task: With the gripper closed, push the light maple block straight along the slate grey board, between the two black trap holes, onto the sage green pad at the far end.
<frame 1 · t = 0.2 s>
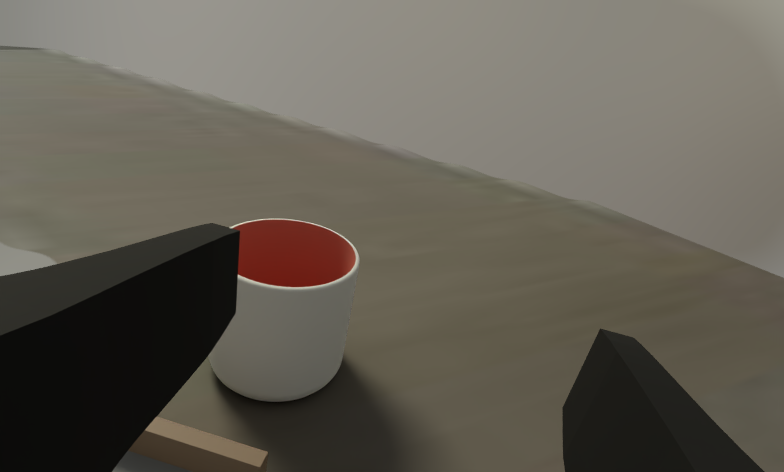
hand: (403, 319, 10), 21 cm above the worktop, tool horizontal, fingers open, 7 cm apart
cup: (276, 363, 39), on the worktop
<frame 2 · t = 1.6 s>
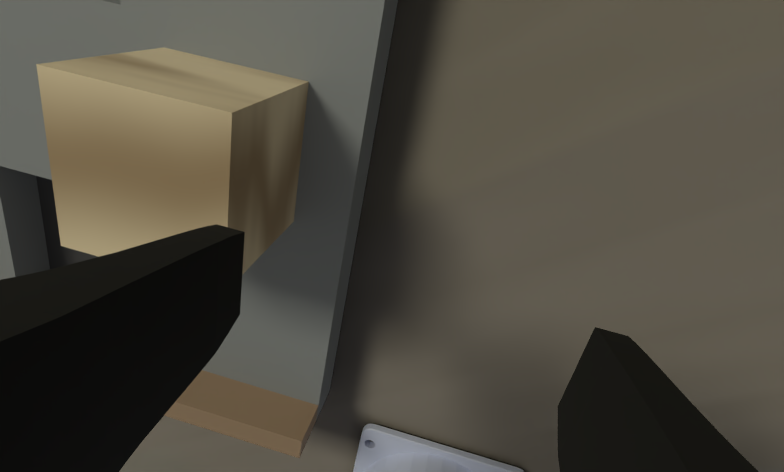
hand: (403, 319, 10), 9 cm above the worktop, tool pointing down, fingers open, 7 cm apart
block: (232, 138, 17), point 2 cm above the worktop, touching trap board
trap board: (80, 81, 20), on the worktop
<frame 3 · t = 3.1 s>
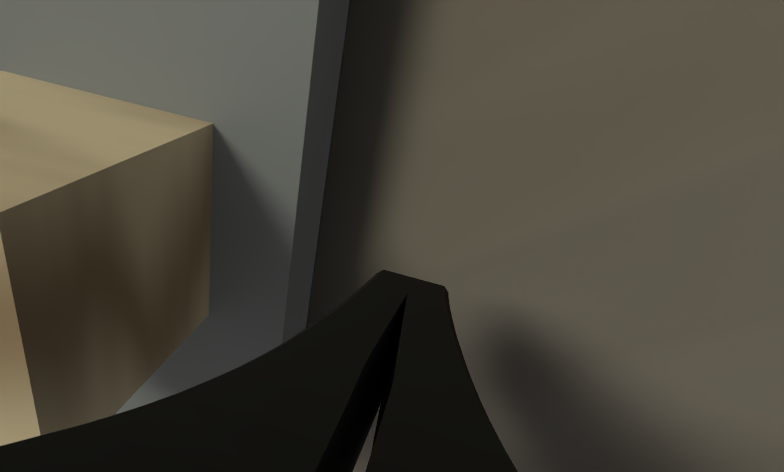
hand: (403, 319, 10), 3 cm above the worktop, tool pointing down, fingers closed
block: (113, 201, 12), point 2 cm above the worktop, touching trap board
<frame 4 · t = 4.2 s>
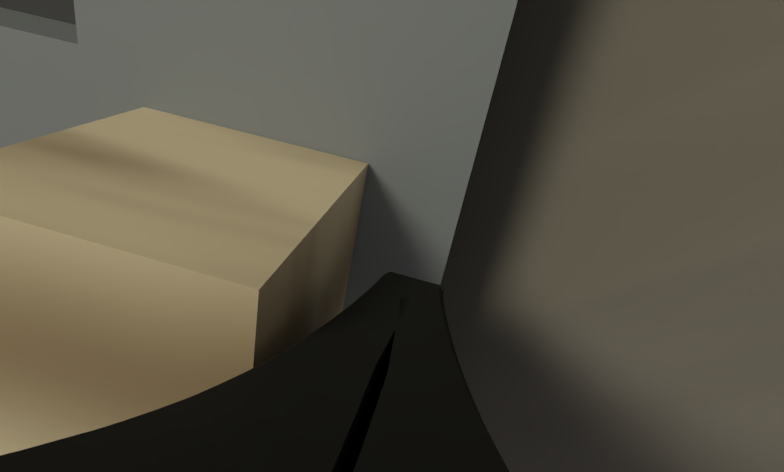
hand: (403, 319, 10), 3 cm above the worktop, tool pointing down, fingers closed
block: (247, 239, 11), point 2 cm above the worktop, touching gripper, trap board
trap board: (33, 142, 14), on the worktop
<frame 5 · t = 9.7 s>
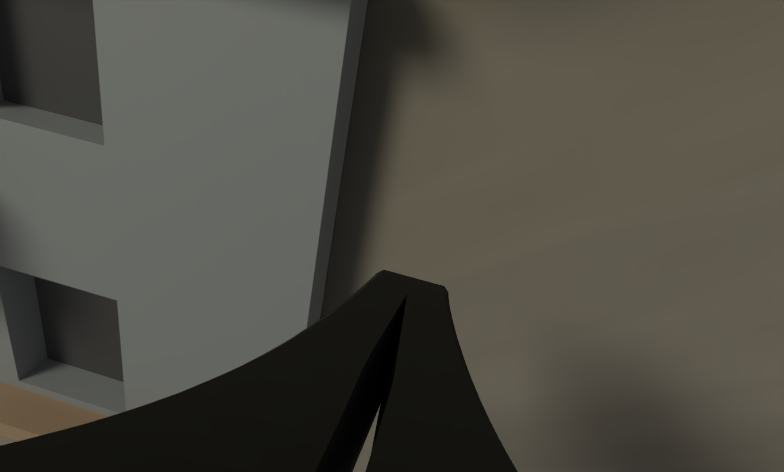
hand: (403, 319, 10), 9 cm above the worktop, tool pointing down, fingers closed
trap board: (71, 190, 22), on the worktop
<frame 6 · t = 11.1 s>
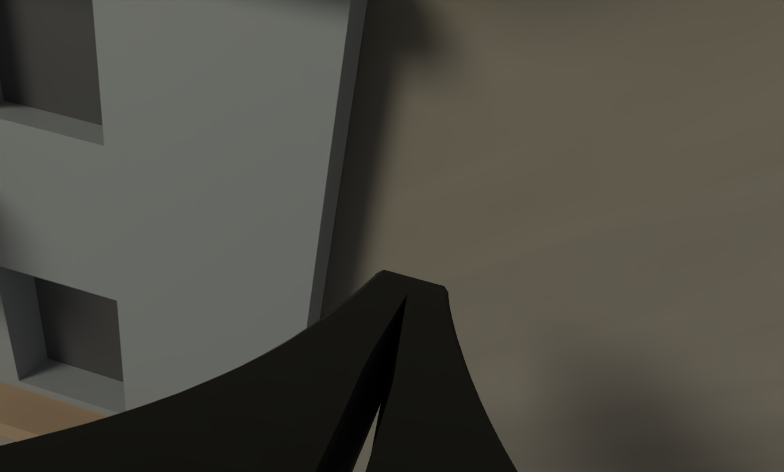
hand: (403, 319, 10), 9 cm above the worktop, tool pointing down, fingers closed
trap board: (71, 191, 22), on the worktop
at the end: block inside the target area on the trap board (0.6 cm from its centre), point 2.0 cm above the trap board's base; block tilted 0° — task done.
